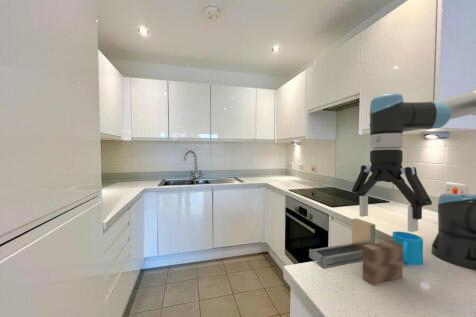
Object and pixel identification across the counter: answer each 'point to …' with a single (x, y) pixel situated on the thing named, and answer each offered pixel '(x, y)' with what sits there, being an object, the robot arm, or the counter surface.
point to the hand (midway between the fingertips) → (385, 222)
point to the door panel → (382, 262)
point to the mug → (410, 247)
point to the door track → (346, 247)
